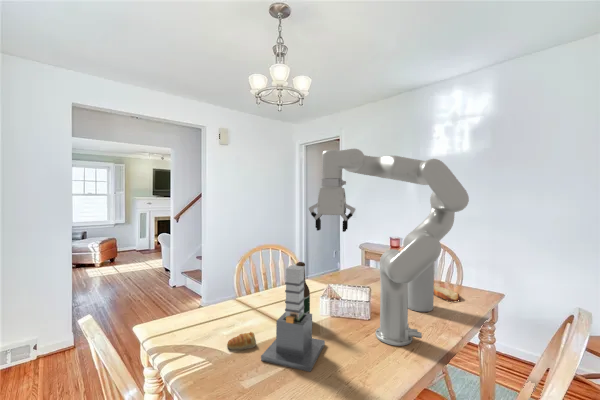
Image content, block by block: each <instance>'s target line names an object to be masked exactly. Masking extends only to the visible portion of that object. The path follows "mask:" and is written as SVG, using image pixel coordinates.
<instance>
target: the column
mask: <svg viewBox="0 0 600 400" xmlns="http://www.w3.org/2000/svg"><path fill="white" fill-rule="evenodd" d="M305 281H306V279H305V280H304V266H296V265H295V264H294V265H290V266H288V267H286V268H285V284H284V285H285V290H284V293H285V301H284V303H285V309H284V311H285V312H286V316H285V319H286V317H287V316H292V317H295V322H301V321H302V320H303V319H304V300H305V298H304V289H305V288H304V282H305Z"/></svg>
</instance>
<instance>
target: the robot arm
mask: <svg viewBox="0 0 600 400" xmlns="http://www.w3.org/2000/svg"><path fill="white" fill-rule="evenodd" d="M343 169H344V170H345V171H347V172H349V173H354V174H357V175H364V176H371V177H378V178H381V179H388V180H393V181H394V180H395V181H398V182H399V181H400V182H406V183H410V184H416V185H421V186H429V188H430V189H431V191H432V193H430V198H429V203H430V211H429V214H428V216H427V217H426V218H425V219H424V220H423V221H422V222H421V223H420V224H418V225H417V226H416V227H415V228H414V229H413V230H412V231H410V232H409V233H408V234H406V236H405V238H403V249H402V250H398V249H392V248H391V249H387V250H386V251H384V252H383V253H382V255H381V256H380V259H379V276H380V277H379V279H380V294H379V295H380V296H379V297H380V299H379V300H380V306H379V307H380V308H379V309H380V310H379V327H378V328H376V330H375V337H376V338H377V340H379V341H381V342H382V343H385V344H388V345H391V346H397V347H398V346H399V347H402V346H407V345H409V344H412V342H413V337H414V338H417V339H422V337H423V336H422V335H423V334H422V332H421V331H418V329H417V328H411V327H409V325H410V324H409V321H408V319H409V317H408V316H409V308H408V283H409V282H411V281H413V280H414V279H415V278H417V277H418V276H419V275H420V274H421V273H422V272H424V271H425V270H426V269H427V268H428V267H429V266H430V265H432V264H433V263H434V264H435V262H436V261H437V260H438V258H440V255H441V252H442V244H441V240H442V239H443V238H444V237H446V235H448V233H450V231H451V229H452V228H453V226H454V222H455V215H456V214H455V213H457V212H458V213H459V212H461V211H463V210H464V209H466V208H467V206H468V204H469V201H470V199H469V198H470V197H469V194H468V191H467V190H466V189H465V187H464V186H463V184H462V183H461V182H460V181H459V179H458V178H457V177H456V176H455V174H454V173H453V172H452V170H451V169H450V168H449V167H448V166H447V165H446V164H445V163H444V162H443V161H442V160H440V159H437V158H429V159H426V160H422V159H416V158H412V157H411V158H410V157H405V156H399V155H383V156H371V155H365V153H364V152H363V151H362V150H361V149H358V148H346V149H341V150H339V149H327V150H323V152H322V153H321V187H319V190H318V196H317V203H315V204H313V205H311V206H309V207H308V210H309V211H308V212H310V215H311V216H312V217H313V219H314V220H315V228H316V231H320V230H321V229H322V227H321V226H322V224H321V223H322V220H321V217H322V216H323V215H324V216H340V217H341V218H342V219H343V220H342V232H343V233H344V232H347V230H348V225H349V223H348V221H349V220H350V219H351V218H352V217H353V215H354V214H355V212H356V208H355V207H354V206H351V205H350V204H348V203H347V199H346V198H347V196H346V190H345V187H343V186H344V185H347V180H343ZM315 209H317V210H316V211H317V213H316V212H315ZM347 209H348V210H349V213H348V214H346V213H347Z"/></svg>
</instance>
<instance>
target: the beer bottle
mask: <svg viewBox="0 0 600 400" xmlns="http://www.w3.org/2000/svg"><path fill="white" fill-rule="evenodd" d="M295 266H304V280H305V282H304V288H305V289H304V298H305V300H304V313H309V314H311V313H310V312H311V307H310V306H311V291H310V288H309V286H308V284H307V283H306V282H307V281H306V271H305V267H306V263H305V262H304V261H297V262H296V264H295Z"/></svg>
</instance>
